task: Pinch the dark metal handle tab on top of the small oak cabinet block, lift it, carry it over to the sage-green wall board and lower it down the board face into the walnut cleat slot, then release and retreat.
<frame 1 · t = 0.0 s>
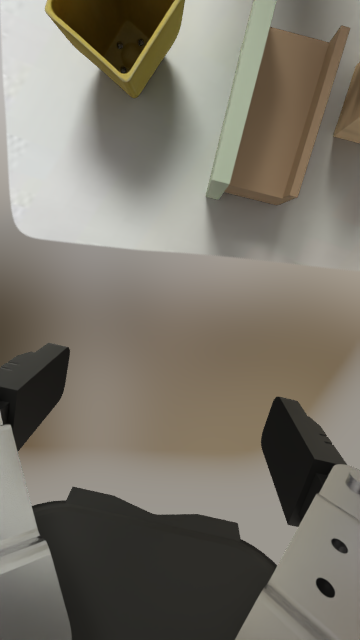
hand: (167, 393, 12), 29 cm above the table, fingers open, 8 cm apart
flower pot: (134, 59, 34), on the table
wall board: (229, 125, 35), on the table
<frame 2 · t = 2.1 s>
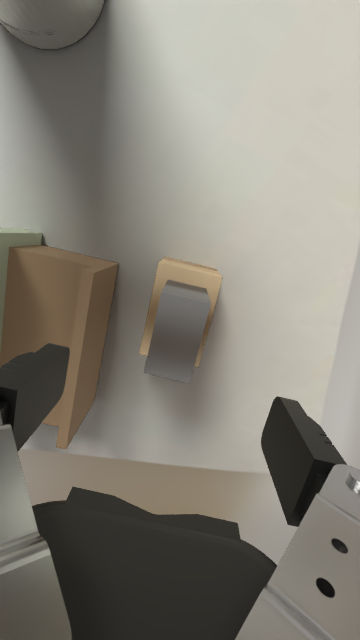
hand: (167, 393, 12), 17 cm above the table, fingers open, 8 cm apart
cabinet block: (181, 300, 28), on the table
wall board: (24, 317, 29), on the table
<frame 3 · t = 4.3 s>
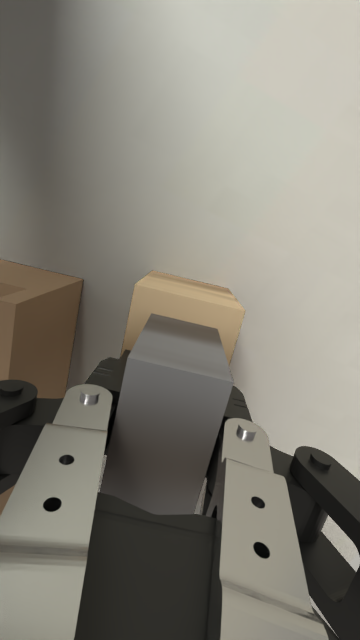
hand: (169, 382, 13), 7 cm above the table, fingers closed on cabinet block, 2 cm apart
cabinet block: (176, 334, 19), on the table, touching gripper
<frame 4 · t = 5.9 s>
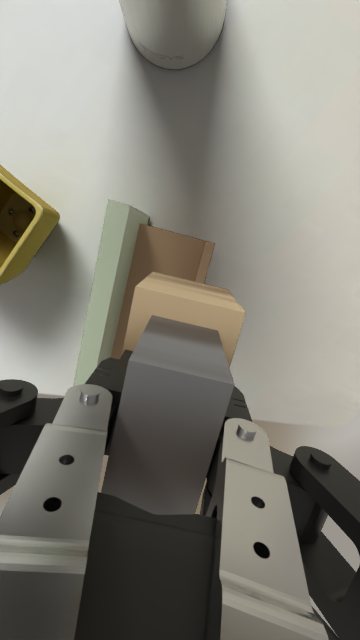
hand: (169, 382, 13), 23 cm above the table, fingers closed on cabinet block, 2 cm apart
cabinet block: (177, 335, 19), point 16 cm above the table, touching gripper
flower pot: (27, 222, 34), on the table
wall board: (126, 286, 35), on the table
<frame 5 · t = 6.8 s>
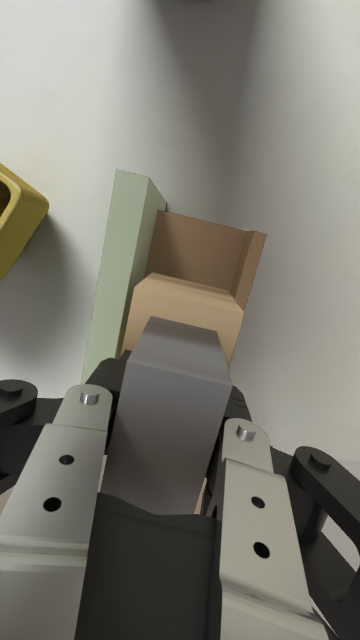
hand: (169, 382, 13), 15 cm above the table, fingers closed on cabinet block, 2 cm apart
cabinet block: (176, 336, 19), point 9 cm above the table, touching gripper
flower pot: (9, 215, 26), on the table
wall board: (138, 293, 28), on the table
when the fingers open (12 cm above the table, at t = 7.6 s): cabinet block stays where it is, resting on wall board.
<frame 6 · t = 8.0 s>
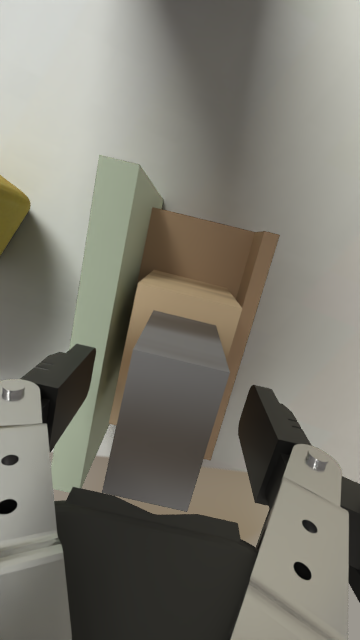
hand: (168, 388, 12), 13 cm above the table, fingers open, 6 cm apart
cabinet block: (177, 331, 20), point 5 cm above the table, touching wall board
wall board: (131, 301, 25), on the table
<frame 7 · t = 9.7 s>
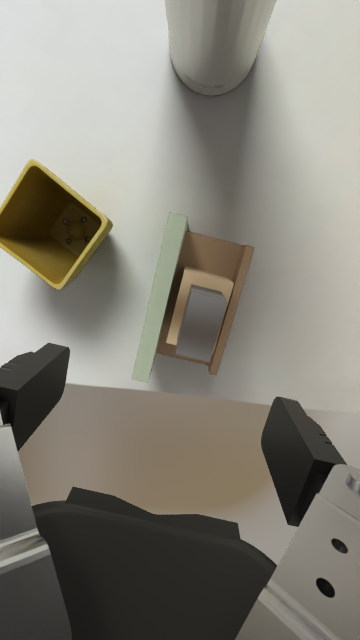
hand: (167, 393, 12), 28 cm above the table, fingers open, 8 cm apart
cabinet block: (197, 301, 35), point 5 cm above the table, touching wall board
flower pot: (79, 231, 38), on the table
wall board: (166, 286, 39), on the table
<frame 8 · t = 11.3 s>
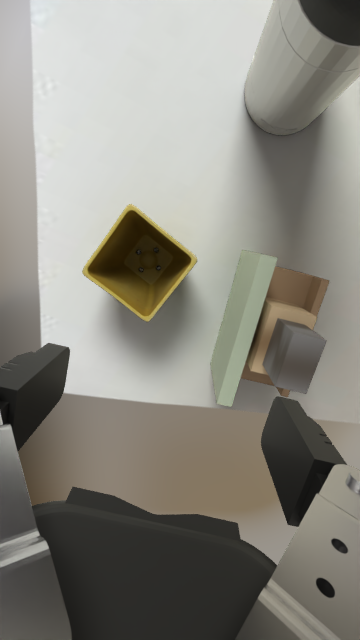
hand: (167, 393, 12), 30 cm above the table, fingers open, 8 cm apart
cabinet block: (268, 328, 37), point 5 cm above the table, touching wall board
flower pot: (150, 260, 41), on the table
wall board: (231, 310, 42), on the table
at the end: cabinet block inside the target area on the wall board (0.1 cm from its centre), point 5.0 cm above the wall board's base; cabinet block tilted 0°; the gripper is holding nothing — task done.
